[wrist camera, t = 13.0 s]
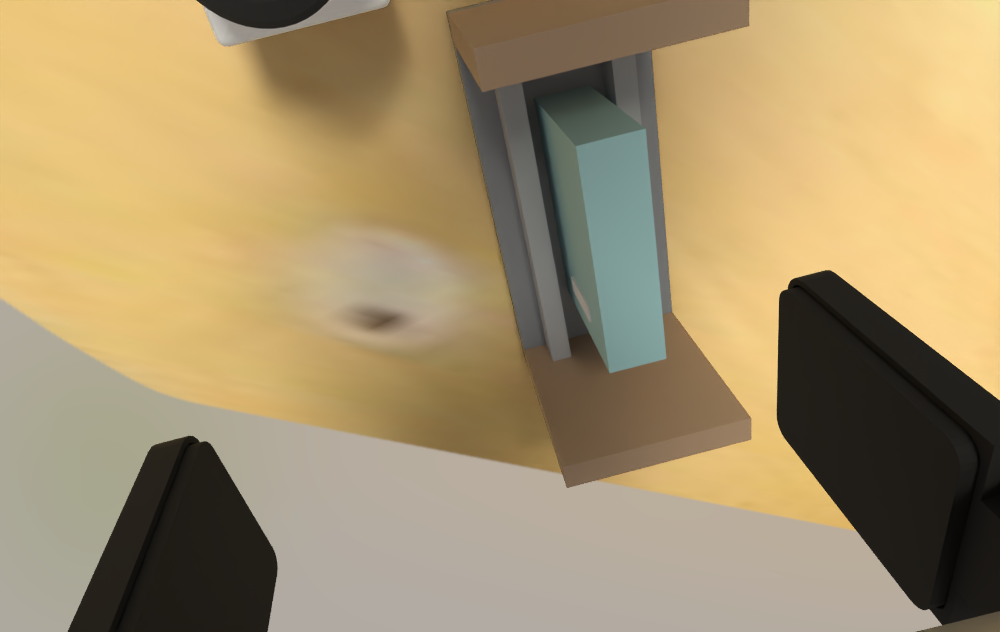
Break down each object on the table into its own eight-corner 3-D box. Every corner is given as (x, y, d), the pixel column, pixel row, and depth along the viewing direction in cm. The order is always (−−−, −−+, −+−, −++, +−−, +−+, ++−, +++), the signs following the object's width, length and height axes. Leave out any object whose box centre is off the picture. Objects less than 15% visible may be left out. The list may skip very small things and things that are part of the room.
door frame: (446, 11, 33) (472, 48, 23) (638, -36, 34) (749, -20, 23) (525, 359, 45) (566, 487, 35) (668, 323, 45) (751, 439, 35)
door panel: (532, 99, 35) (573, 146, 27) (590, 84, 35) (647, 127, 28) (566, 291, 41) (607, 374, 34) (616, 278, 41) (668, 358, 34)
